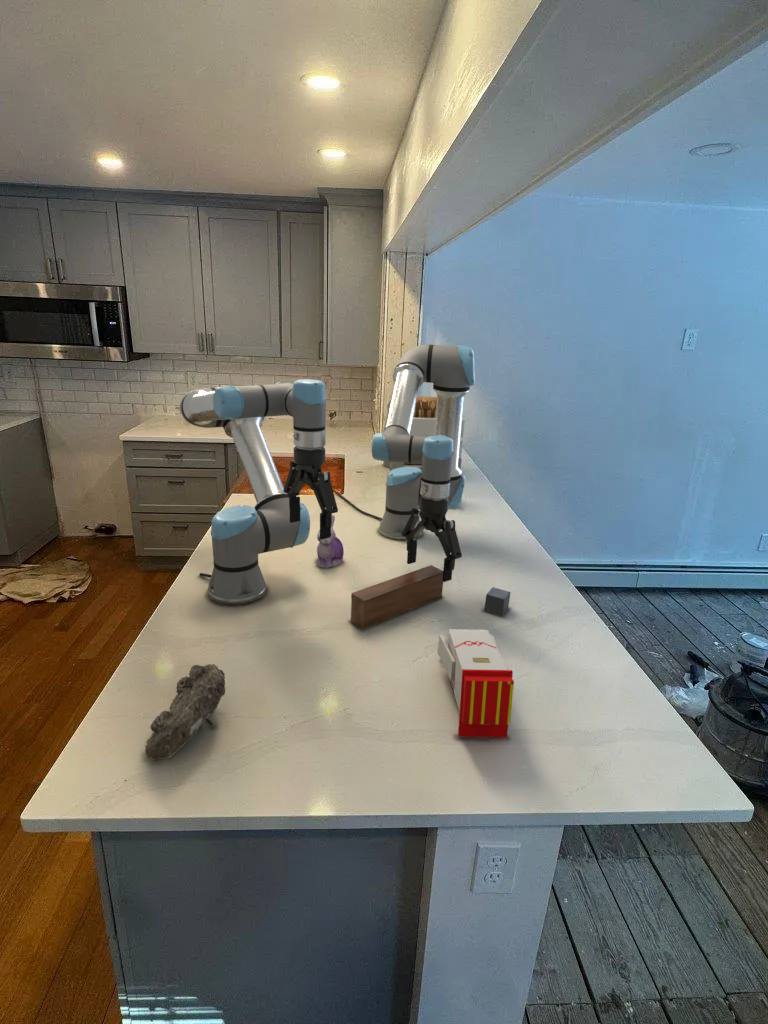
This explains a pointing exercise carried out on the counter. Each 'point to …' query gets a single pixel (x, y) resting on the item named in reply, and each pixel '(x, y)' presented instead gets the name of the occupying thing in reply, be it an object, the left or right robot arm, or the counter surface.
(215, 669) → the fossil
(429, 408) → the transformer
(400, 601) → the plank
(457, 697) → the toy
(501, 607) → the grey block
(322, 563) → the figurine
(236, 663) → the counter surface
